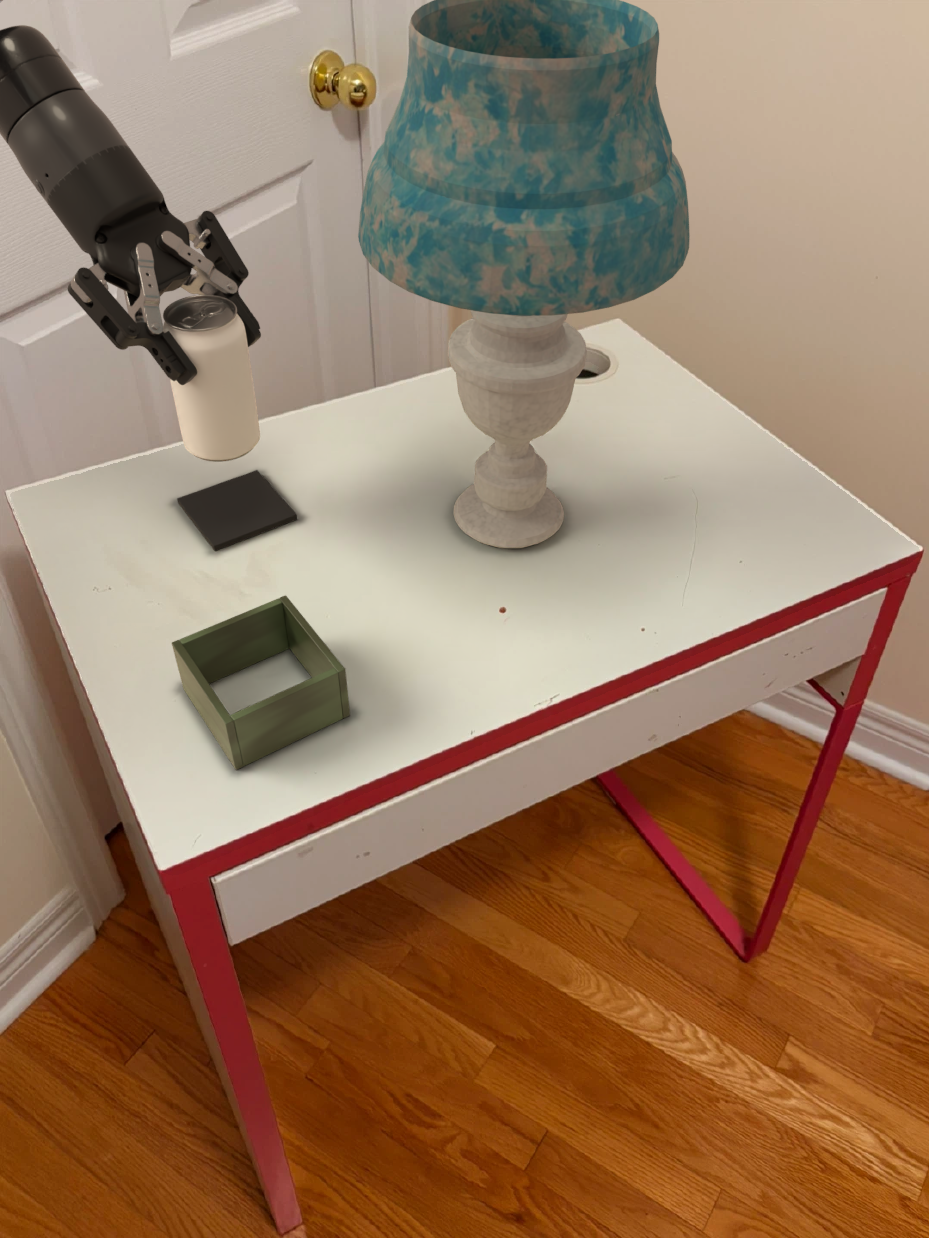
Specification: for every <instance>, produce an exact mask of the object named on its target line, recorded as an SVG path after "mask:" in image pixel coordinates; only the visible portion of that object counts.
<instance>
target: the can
mask: <svg viewBox="0 0 929 1238" xmlns="http://www.w3.org/2000/svg"><path fill="white" fill-rule="evenodd" d="M162 318H163V319H162V320H163V321H164V322H163V332H164V333H165V332H167V331H169V332H170V333H171V334H172V336H173V337H174V339H175V340H176V341H177V343H178V344H179V345H180V347H181V348H182V349H183V351H184V352H185V354H186V355H187V356H188V358H189V359H190V360H191V362H192V363H193V364H194V366H195V367H196V369H197V375H196V376H195V377H194V378H193V379H192V380H191V381H190V382H188V383H186V384H185V385H180V384H179V383H178V382H177V380H176V381H173V380H171V379H170V378H169V381H170V387H171V393H172V396H173V401H174V405H175V411H176V415H177V420H178V425H179V429H180V433H181V434H180V435H181V439H182V443H183V446H184V448H185V450H187V452H188V453H190V454H191V455H193V456H194V457H196V458H197V459H200V460H201V461H202V460H203V461H206V462H213V463H214V462H216V463H219V462H222V463H223V462H229V461H234V460H237V459H239V458H242V457H244V456H246V455H247V454H249V453H251V452H252V451H253V449H255V447H256V446H257V445H258V444H259V441H260V438H261V430H260V421H259V413H258V408H257V399H256V393H255V385H254V379H253V372H252V365H251V358H250V351H249V347H248V344H247V337H246V331H245V327H244V323H243V321H242V320H241V318H240V317H239V315H238V314H237V307H236V305H235V304H234V303H233V302H232V301H230V300H229V299H226V298H224V297H220V296H215V295H199V294H194V295H190V296H185V297H182V298H179V299H176V300H175V301H173V302H170V304H168V305H167V306H166V307H165V309H164V310H163V313H162Z"/></svg>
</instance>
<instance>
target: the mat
mask: <svg viewBox="0 0 929 1238" xmlns="http://www.w3.org/2000/svg"><path fill="white" fill-rule="evenodd" d="M176 500H177V504H178V505H179V507H180V508H181V510H182V511H183V512H184V513H185V515H186V516H187V517H188V518H189V520H190V522H192V524H193V525H194V526H195V528H196V529H197V530H198V531H199V533H200V534H201V535H202V537H203V538H204V539H205V541H206V542H207V543H208V544H209V546H210V547H211V548H212V550H213V551H214V552H217V551H218V550H221V549H224V548H226V547H229V546H232V545H234V544H237V543H239V542H242V541H245V540H247V539H250V538H253V537H255V536H257V535H260V534H263V533H266V532H268V531H271V530H273V529H276V528H279V527H281V526H284V525H287V524H289V523H291V522H294V521H296V520H298V514H297V513H296V511H295V510H294V509H292V508H291V506H290V505H289V504H288V503H287V501H286V500H284V498H283V497H282V496H281V495H280V494H279V492H277V490H275V488H274V487H273V486H272V485H271V484H270V483H269V481H268V480H267V479H266V478H265V477H264V476H263V475H262V473H261V472H260V471H259V470H258V469H255V470H253V471H250V472H248V473H243V474H242V475H239V476H236V477H233V478H231V479H228V480H225V481H222V482H220V483H216V484H214V485H211V486H208V487H205V488H202V489H199V490H197V491H194V492H191V493H188V494H185V495H183V496H180V497H177V498H176Z"/></svg>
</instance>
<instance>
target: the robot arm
mask: <svg viewBox="0 0 929 1238" xmlns="http://www.w3.org/2000/svg"><path fill="white" fill-rule="evenodd" d="M3 1H4V0H0V3H2V2H3ZM0 136H1V137H2V139H3V140H4V141H5V142H6V144H7V145H8V147H9V148H10V150H11V151H12V153H13V155H14V156H15V158H16V160H17V162H18V164H19V165H20V167H21V169H22V170H23V172H24V174H25V175H26V176H27V178H28V179H29V181H30V182H31V184H32V185H33V186H34V188H35V189H36V192H38V193H39V195H40V196H41V197H42V198H43V199H44V201H45V202H46V204H47V205H48V207H49V208H50V209H51V210H52V212H53V213H54V214H55V216H56V217H57V219H58V220H59V222H61V224H62V225H63V227H64V228H65V229H66V231H67V233H68V234H69V235H70V236H71V238H72V239H73V240H74V242H75V243H76V244H77V246H78V247H79V248H80V250H81V251H82V252H84V253H86V254H88V255H89V256H90V258H91V261H92V266H90V267H84V266H83V267H80V268H78V270H77V271H76V272H75V274H74V276H73V277H72V279H71V281H70V282H69V284H68V285H67V292H68V294H69V295H70V296H71V297H72V298H73V300H74V301H75V302H76V303H77V305H78V306H79V307H80V308H81V309H82V310H83V311H84V312H85V313H86V314H87V316H88V317H89V318H90V319H91V320H92V321H93V322H94V323H95V325H96V326H97V327H98V328H99V329H100V330H101V331H102V333H103V334H104V335H105V336H106V338H107V339H108V340H109V341H110V342H111V343H112V344H113V346H115V347H116V348H117V349H119V350H120V351H121V350H122V351H125V350H127V349H128V348H129V347H142V348H144V349H146V350H147V351H148V353H149V354H150V355H151V356H152V358H153V359H154V361H155V362H156V363H157V365H158V366H159V367H160V369H161V370H162V372H164V374H165V376H166V377H167V378H169V380H170V379H171V380H173V381H176V380H177V382H178V383H179V384H180V385H185V384H186V383H188V382H190V381H191V380H192V379H193V378H194V377H195V376H196V375H197V369H196V367H195V366H194V364H193V363H192V362H191V360H190V359H189V358H188V356H187V355H186V354H185V352H184V351H183V349H182V348H181V347H180V345H179V344H178V343H177V341H176V340H175V339H174V337H173V336H172V334H171V333H170V332H169V331H167V332H165V333H164V332H163V325H164V322H163V319H162V318H163V317H162V313H161V310H160V303H161V297H162V296H163V294H164V293H167V292H174V291H176V290H178V289H179V288H181V289H183V290H184V291H185V292H187V293H189V294H191V295H215V296H220V297H224V298H226V299H229V300H230V301H232V302H233V303H234V304H235V305H236V307H237V314H238V315H239V317H240V318H241V320H242V321H243V323H244V327H245V331H246V337H247V344H248V348H249V347H251V346H253V345H255V343H256V342H258V341H259V340H260V339H261V338H262V333H261V326H260V323H259V321H258V319H257V318H256V316H254V313H253V312H252V311H251V310H250V308H249V307H248V306H247V304H246V303H245V301H244V300H243V299H242V297H241V296H240V292H239V290H240V287H241V286H242V284H243V282H244V281H245V280H246V279H247V278H248V277H249V274H250V273H249V270H248V268H247V266H246V265H245V262H244V261H243V259H242V258H241V257H240V254H239V253H238V251H237V250H236V248H235V246H234V245H233V243H232V242H231V240H230V238H229V236H228V235H227V233H226V231H225V230H224V228H223V226H222V225H221V224H220V221H219V220H218V218H217V216H216V215H215V214H214V213H213V212H212V211H210V210H203V212H202V213H201V214H200V215H199V216H198V217H197V218H195V219H191V220H188V221H186V222H183V221H182V220H180V219H179V218H178V217H176V216H175V215H174V214H173V213H171V212H170V210H169V208H168V206H167V203H166V199H165V197H164V194H163V192H162V191H161V189H160V188H159V187H158V185H157V184H156V182H155V180H154V179H153V178H152V177H151V176H150V174H149V172H148V171H147V169H145V167H144V165H143V164H142V163H141V161H140V160H139V159H138V157H137V156H136V154H135V153H134V151H133V150H132V149H131V148H130V146H129V144H128V143H127V142H126V140H125V139H124V138H123V136H122V135H121V134H120V132H119V131H118V129H117V128H116V126H115V125H114V124H113V122H112V121H111V119H110V118H109V117H108V116H107V114H106V113H104V111H103V110H102V109H101V108H100V107H99V106H98V105H97V104H96V102H94V100H93V99H92V98H91V97H90V96H89V94H88V93H87V92H86V90H85V89H84V88H83V86H82V85H81V84H80V81H79V80H78V79H77V77H75V75H74V74H73V72H72V70H70V68H69V66H68V65H67V63H66V62H65V60H63V59H62V56H61V55H60V54H59V52H58V51H57V49H56V48H55V47H54V46H53V44H52V43H51V42H50V41H49V39H48V38H47V37H46V36H45V35H44V33H42V32H41V31H40V30H39V29H37V28H35V27H33V26H30V25H25V24H20V25H12V26H8V27H6V28H2V29H0ZM191 243H193V247H194V248H192V247H191ZM195 249H196V250H195ZM197 250H200V251H201V253H202V254H201V253H200V252H198V251H197ZM192 270H194V271H195V273H193V274H192ZM108 284H110V285H112V286H114V287H115V288H116V287H117V289H120V290H122V291H123V295H124V298H125V299H124V300H125V303H126V304H125V305H126V309H127V311H126V309H125V308H124V307H123V306H122V305H121V303H120V302H119V301H118V300H117V299H116V298H115V296H114V295H113V294H112V293H111V292H110V291H109V285H108Z"/></svg>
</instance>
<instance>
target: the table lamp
mask: <svg viewBox="0 0 929 1238" xmlns="http://www.w3.org/2000/svg"><path fill="white" fill-rule="evenodd" d="M411 15H412V16H411V17H410V21H409V24H408V58H407V70H406V71H407V73H406V79H405V82H404V85H403V88H402V92H401V94H400V98H399V100H398V103H397V105H396V108H395V110H394V112H393V114H392V117H391V119H390V121H389V123H388V126H387V128H386V130H385V134H384V140H383V142H382V144H381V145H380V146H379V148H377V150H376V152H375V154H374V156H373V158H372V160H371V161H370V166H369V167H368V170H367V174H366V178H365V183H364V188H363V192H362V198H361V205H360V212H359V221H358V222H359V223H358V234H357V237H358V243H359V246H360V249H361V252H362V255H363V257H364V258H365V259H366V261H367V262H368V263H369V264H370V266H371V267H372V268H373V269H374V270H375V271H377V272H378V273H379V274H380V275H381V276H383V277H384V278H385V279H387V280H388V281H389V282H391V283H393V284H394V285H396V286H398V287H400V288H401V289H403V290H405V291H406V292H409V293H411V294H413V295H416V296H418V297H420V298H421V297H422V298H424V299H426V300H429V301H431V302H434V303H437V304H442V305H446V306H450V307H453V308H457V309H460V310H461V309H462V310H467V311H470V314H471V318H469V319H467V320H465V321H463V322H462V323H461V324H459V325H458V326H457V327H456V328H455V329H454V330H453V331H452V333H451V334H450V337H449V339H448V341H447V359H448V361H449V364H450V367H451V369H452V370H453V371H454V372H455V378H456V385H457V393H458V397H459V400H460V403H461V407H462V409H463V412H464V413H465V415H466V417H467V418H468V419H469V421H470V422H471V423H472V424H473V425H474V426H475V427H476V428H477V429H478V430H479V431H480V432H482V433H483V434H484V435H485V436H488V437H490V438H492V439H493V441H494V442H493V443H491V445H490V446H489V448H488V450H486V451H485V452H483V453H481V455H480V456H478V458H477V459H476V461H475V463H474V474H473V475H474V477H473V478H474V479H473V484H471V485H469V486H468V487H466V488H465V490H463V491H462V493H460V494H459V496H458V497H457V499H456V500H455V503H454V506H453V517H454V521H455V523H456V524H457V526H458V527H459V529H461V531H462V532H463V533H465V535H467V536H468V537H470V538H472V539H473V540H474V541H477V542H479V543H480V544H482V545H487V546H491V547H494V548H497V549H498V548H499V549H524V548H527V547H530V546H533V545H538V544H541V543H542V542H544V541H546V540H548V539H549V538H550V537H552V536H553V535H556V533H557V532H558V531H559V530H560V529H561V526H562V525H563V523H564V519H565V511H564V510H565V509H564V507H563V505H562V502H561V500H559V498H558V497H557V496H556V494H555V492H553V490H551V489H550V488H549V487H548V486H547V480H548V465H547V463H546V461H545V459H544V458H543V457H542V456H540V455H539V454H538V453H537V452H536V450H535V448H534V446H533V445H532V444H531V442H532V441H533V440H535V439H537V438H540V437H543V436H545V435H546V434H547V433H548V432H550V431H551V430H552V429H554V427H556V426H557V425H558V423H559V422H560V421H561V420H562V419H563V417H564V415H566V412H567V410H568V408H569V406H570V404H571V400H572V395H573V391H574V388H575V383H576V379H577V378H578V377H579V376H580V374H581V372H582V371H583V370H584V367H585V366H586V361H587V356H588V355H587V353H588V349H587V343H586V340H585V339H584V337H583V335H582V333H581V332H580V331H579V330H577V328H576V327H575V326H572V325H571V324H570V323H568V322H567V321H566V320H567V317H568V315H571V314H572V315H573V314H582V313H583V314H584V313H589V312H593V311H598V310H603V309H609V308H612V307H613V308H614V307H616V306H619V305H621V304H625V303H628V302H631V301H632V302H633V301H634V300H637V299H639V298H641V297H643V296H645V295H648V294H650V293H652V292H654V291H656V290H657V289H659V288H660V287H661V286H663V285H664V284H666V283H667V282H669V281H670V280H671V279H673V278H674V277H675V276H676V274H677V273H678V272H679V271H680V270H681V268H682V267H683V266H684V264H685V262H686V259H687V256H688V253H689V250H690V236H691V235H690V215H689V214H690V213H689V212H690V211H689V199H688V191H687V180H686V178H685V175H684V170H683V168H682V165H681V164H680V162H679V160H678V158H677V156H676V155H675V154H674V152H673V141H672V137H671V135H670V132H669V128H668V126H667V122H666V119H665V117H664V113H663V110H662V108H661V102H660V97H659V91H658V88H657V63H658V55H659V47H660V46H659V45H660V29H659V24H658V22H657V20H656V18H655V17H654V16H652V14H650V13H649V12H648V11H647V10H644V9H643V8H641V7H639V6H637V5H634V4H632V3H629V2H627V1H624V0H431V1H429V2H427V3H425V4H423V5H421V6H420V7H418V8H417V9H416V10H415V11H414V12H413V14H411Z"/></svg>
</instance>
